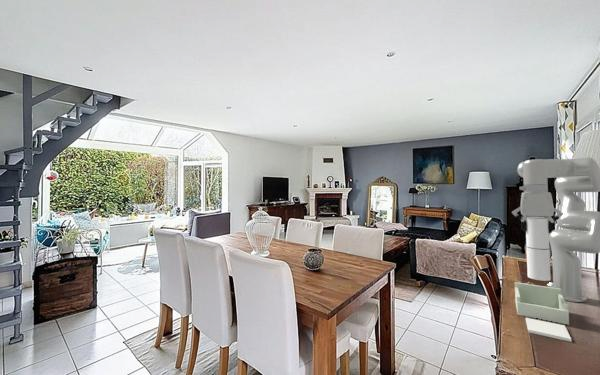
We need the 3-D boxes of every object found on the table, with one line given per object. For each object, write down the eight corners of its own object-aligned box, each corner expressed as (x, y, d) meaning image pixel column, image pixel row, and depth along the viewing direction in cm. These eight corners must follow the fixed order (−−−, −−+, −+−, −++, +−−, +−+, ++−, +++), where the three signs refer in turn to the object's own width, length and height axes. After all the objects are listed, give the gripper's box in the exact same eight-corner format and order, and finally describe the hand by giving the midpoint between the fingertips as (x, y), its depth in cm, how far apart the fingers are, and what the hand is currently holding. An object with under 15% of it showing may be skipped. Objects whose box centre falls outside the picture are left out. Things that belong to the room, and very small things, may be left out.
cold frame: (515, 302, 121) (514, 282, 121) (561, 310, 112) (560, 288, 112) (517, 314, 109) (516, 292, 109) (569, 325, 100) (568, 300, 100)
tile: (525, 320, 104) (525, 317, 104) (564, 328, 98) (564, 325, 98) (528, 332, 96) (528, 329, 96) (571, 342, 89) (571, 339, 89)
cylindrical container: (528, 278, 110) (526, 218, 110) (526, 274, 116) (524, 216, 116) (552, 281, 106) (549, 218, 106) (548, 276, 112) (546, 217, 112)
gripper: (509, 189, 113) (510, 231, 113) (566, 188, 103) (568, 234, 103) (508, 189, 119) (510, 229, 119) (562, 188, 109) (564, 231, 109)
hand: (537, 231), depth 111 cm, fingers closed on cylindrical container, 7 cm apart
